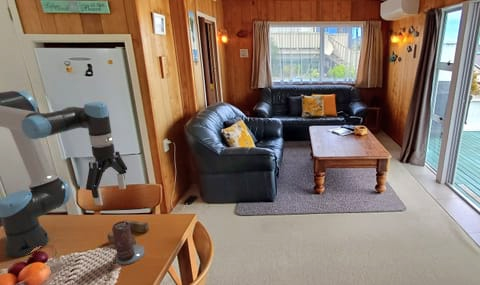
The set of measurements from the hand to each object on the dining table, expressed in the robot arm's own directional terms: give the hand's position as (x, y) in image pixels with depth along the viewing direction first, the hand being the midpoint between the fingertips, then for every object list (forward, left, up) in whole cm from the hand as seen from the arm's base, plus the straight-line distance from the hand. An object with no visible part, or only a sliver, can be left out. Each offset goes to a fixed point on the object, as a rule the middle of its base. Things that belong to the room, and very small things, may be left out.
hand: (111, 196), depth 114 cm
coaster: (+7, -4, -23) cm, 24 cm away
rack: (-1, +7, -23) cm, 24 cm away
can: (+7, -6, -22) cm, 24 cm away
